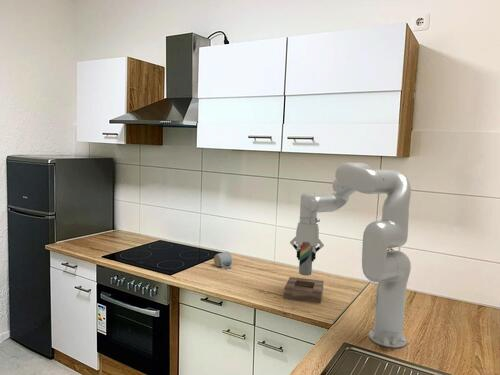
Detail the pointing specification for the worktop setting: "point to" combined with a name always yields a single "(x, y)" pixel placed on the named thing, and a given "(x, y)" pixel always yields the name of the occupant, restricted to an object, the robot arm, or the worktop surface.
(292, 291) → the holder
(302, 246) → the lotion bottle
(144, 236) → the worktop surface
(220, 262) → the ceramic mug
